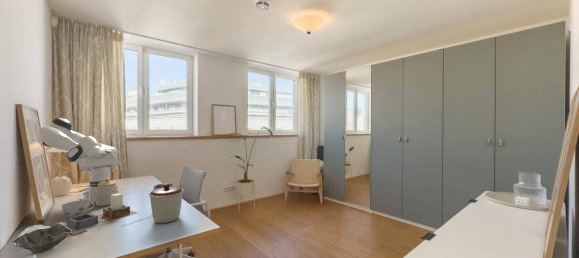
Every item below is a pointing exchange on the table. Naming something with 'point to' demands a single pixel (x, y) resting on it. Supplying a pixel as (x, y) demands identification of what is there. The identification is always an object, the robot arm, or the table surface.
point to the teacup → (76, 208)
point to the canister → (166, 203)
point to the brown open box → (116, 213)
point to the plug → (116, 201)
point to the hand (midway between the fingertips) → (104, 172)
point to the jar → (105, 192)
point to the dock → (83, 223)
